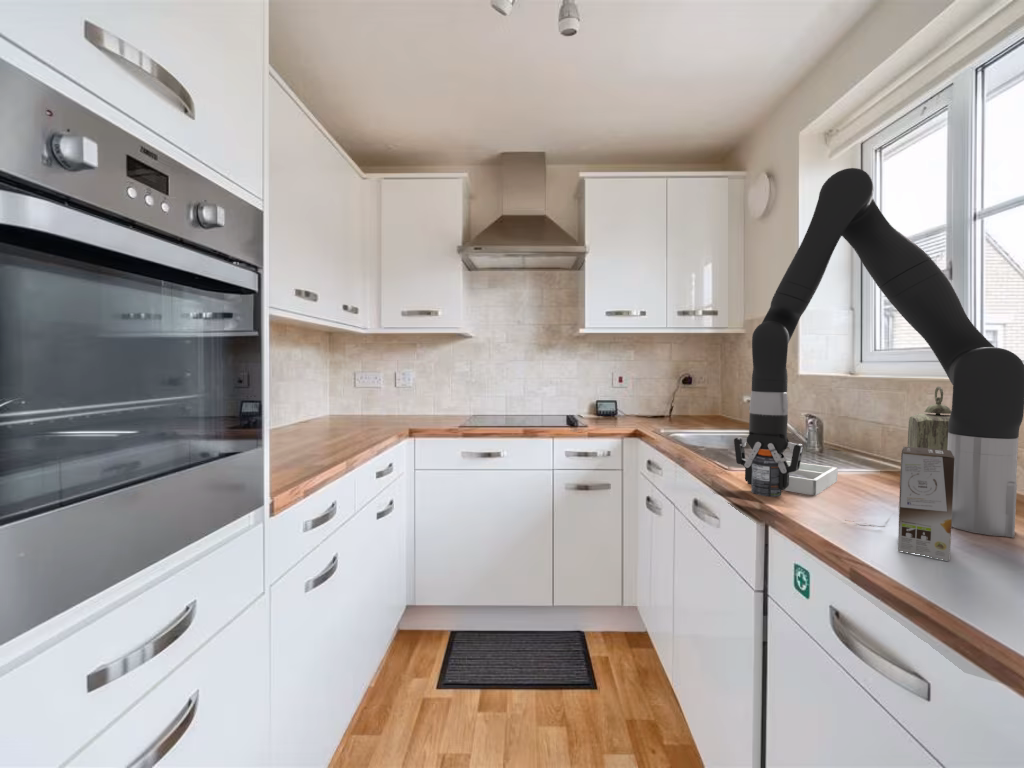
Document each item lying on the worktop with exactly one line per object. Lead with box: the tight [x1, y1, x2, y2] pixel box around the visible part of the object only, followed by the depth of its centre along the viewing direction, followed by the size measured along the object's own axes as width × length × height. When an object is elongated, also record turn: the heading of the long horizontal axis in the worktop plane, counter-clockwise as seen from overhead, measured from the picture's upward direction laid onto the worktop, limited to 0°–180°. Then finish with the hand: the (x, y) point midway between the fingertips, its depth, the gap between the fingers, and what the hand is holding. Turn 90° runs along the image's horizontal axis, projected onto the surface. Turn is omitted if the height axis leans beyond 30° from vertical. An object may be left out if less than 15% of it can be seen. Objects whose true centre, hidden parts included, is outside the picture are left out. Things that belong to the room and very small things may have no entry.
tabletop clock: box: [907, 386, 952, 450], centre depth 123 cm, size 14×9×25 cm, turn 148°
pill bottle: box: [751, 449, 782, 498], centre depth 108 cm, size 6×6×11 cm
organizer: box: [784, 460, 839, 496], centre depth 117 cm, size 13×20×4 cm, turn 135°
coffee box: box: [897, 446, 955, 561], centre depth 78 cm, size 9×6×16 cm
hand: (766, 486), depth 108 cm, fingers closed on pill bottle, 6 cm apart
